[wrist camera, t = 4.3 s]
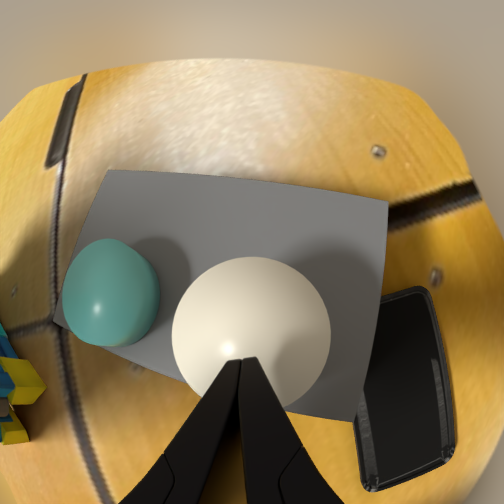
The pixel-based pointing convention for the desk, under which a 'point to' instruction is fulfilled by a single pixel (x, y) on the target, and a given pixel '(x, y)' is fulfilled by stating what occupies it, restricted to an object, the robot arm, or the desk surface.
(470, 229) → the desk surface
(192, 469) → the robot arm
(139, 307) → the teal button
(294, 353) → the cream button
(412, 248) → the desk surface
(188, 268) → the button box
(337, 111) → the desk surface
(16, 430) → the decorative book
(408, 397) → the phone
